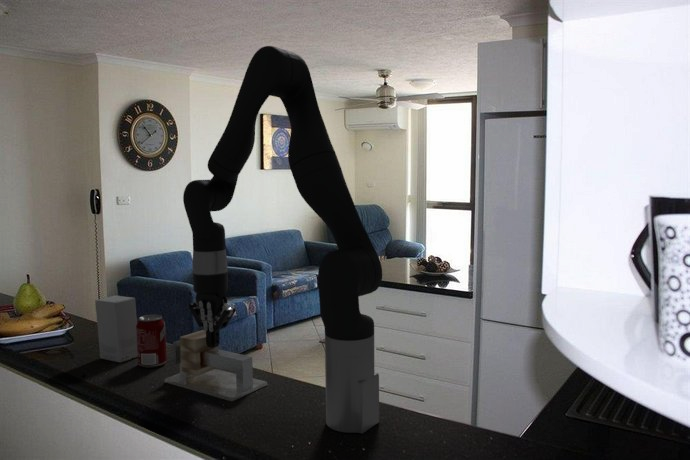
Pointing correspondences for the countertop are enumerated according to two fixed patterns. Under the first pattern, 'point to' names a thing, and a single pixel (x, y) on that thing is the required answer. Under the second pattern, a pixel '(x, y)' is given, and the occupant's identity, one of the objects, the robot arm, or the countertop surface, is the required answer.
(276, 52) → the robot arm
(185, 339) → the tan notched block
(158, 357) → the soda can
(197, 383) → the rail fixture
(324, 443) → the countertop surface
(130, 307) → the skincare box
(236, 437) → the countertop surface
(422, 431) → the countertop surface
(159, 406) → the countertop surface
